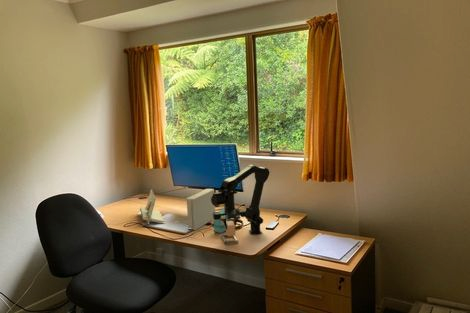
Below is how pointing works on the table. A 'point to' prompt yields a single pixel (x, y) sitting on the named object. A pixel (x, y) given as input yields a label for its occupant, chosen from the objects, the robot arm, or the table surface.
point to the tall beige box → (230, 228)
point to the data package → (220, 223)
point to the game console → (200, 209)
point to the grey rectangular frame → (229, 241)
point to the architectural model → (151, 211)
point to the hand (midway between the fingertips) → (230, 229)
